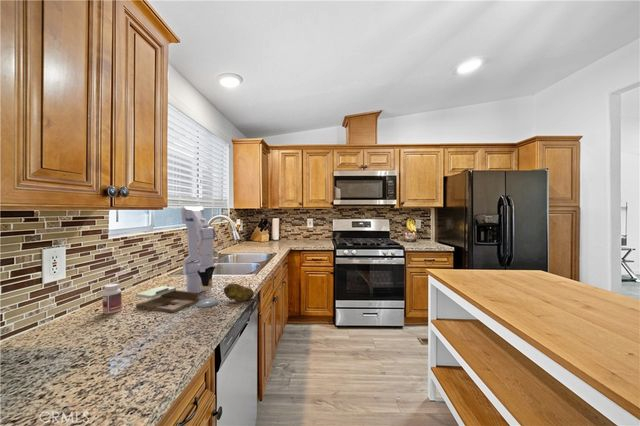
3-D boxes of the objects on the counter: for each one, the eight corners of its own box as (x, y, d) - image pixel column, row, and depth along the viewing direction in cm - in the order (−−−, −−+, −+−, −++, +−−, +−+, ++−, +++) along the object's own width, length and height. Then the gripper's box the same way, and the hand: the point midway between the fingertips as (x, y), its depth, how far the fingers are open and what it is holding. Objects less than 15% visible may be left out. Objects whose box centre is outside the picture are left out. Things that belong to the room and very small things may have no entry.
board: (164, 296, 127) (164, 287, 127) (199, 301, 120) (198, 292, 120) (136, 307, 113) (136, 297, 113) (173, 312, 107) (173, 302, 107)
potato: (250, 303, 117) (250, 285, 117) (221, 304, 116) (221, 286, 116) (254, 297, 125) (254, 280, 125) (227, 297, 125) (227, 281, 124)
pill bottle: (124, 307, 113) (123, 282, 113) (118, 313, 107) (117, 286, 107) (107, 309, 111) (106, 283, 111) (99, 315, 105) (99, 288, 105)
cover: (161, 288, 126) (161, 283, 126) (176, 290, 123) (175, 285, 123) (136, 296, 114) (136, 291, 114) (151, 298, 111) (151, 293, 111)
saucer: (206, 299, 122) (206, 297, 122) (222, 301, 119) (222, 299, 119) (191, 306, 114) (191, 304, 114) (208, 308, 111) (208, 306, 111)
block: (203, 287, 118) (203, 279, 118) (212, 287, 119) (212, 278, 119) (200, 290, 114) (200, 281, 114) (210, 290, 115) (210, 281, 115)
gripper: (201, 251, 123) (202, 280, 123) (191, 257, 108) (192, 289, 109) (217, 251, 124) (217, 279, 124) (209, 256, 110) (209, 288, 110)
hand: (206, 284), depth 116 cm, fingers closed on block, 4 cm apart
